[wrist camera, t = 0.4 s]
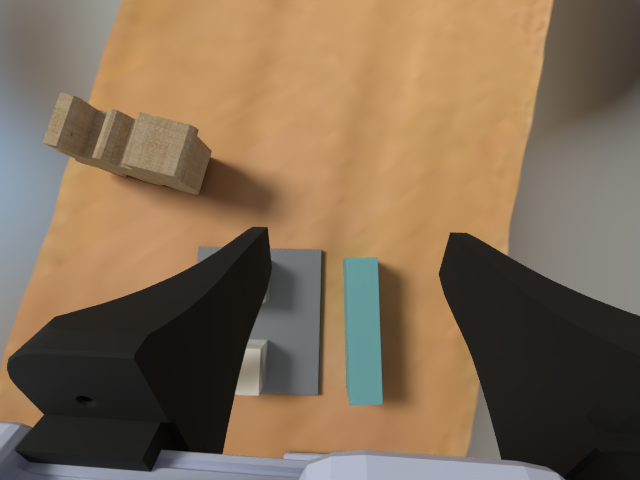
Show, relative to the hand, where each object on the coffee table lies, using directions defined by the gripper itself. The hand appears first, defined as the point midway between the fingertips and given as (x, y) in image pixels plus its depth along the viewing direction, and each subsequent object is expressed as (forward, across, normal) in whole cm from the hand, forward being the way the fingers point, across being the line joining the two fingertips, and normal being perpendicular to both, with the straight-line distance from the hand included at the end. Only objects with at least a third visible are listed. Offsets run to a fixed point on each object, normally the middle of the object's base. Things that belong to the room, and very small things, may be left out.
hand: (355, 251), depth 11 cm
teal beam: (+16, -2, +22) cm, 27 cm away
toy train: (+27, +25, +5) cm, 37 cm away
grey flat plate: (+16, +10, +21) cm, 28 cm away
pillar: (+12, +12, +25) cm, 30 cm away
